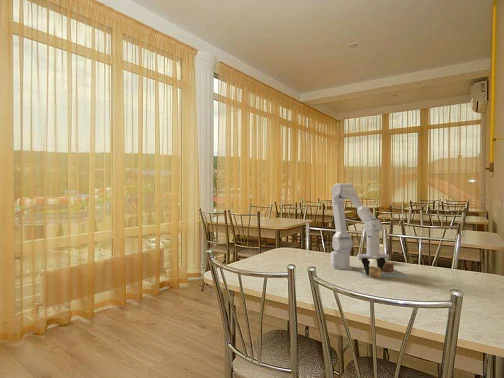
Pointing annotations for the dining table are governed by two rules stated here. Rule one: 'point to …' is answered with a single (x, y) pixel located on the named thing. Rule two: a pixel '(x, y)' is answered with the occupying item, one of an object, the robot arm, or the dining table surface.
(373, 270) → the oak block
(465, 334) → the dining table surface
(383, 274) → the build board
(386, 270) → the walnut block
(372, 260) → the white cup
